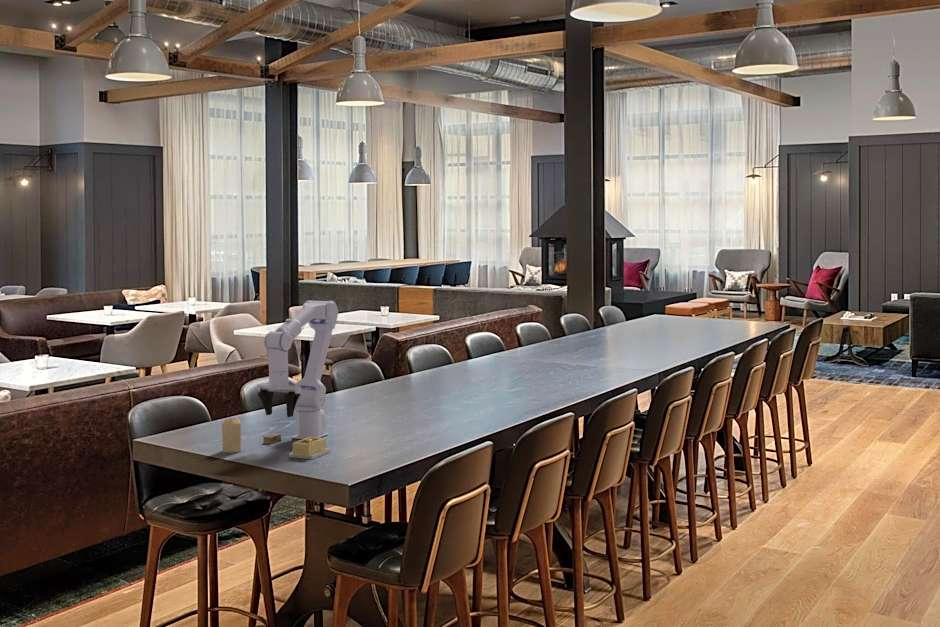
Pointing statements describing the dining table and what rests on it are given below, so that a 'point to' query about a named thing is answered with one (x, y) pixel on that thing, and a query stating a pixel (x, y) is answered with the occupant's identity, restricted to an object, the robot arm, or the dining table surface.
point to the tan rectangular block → (272, 438)
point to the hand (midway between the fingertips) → (279, 415)
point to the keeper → (311, 454)
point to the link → (309, 446)
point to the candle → (231, 435)
